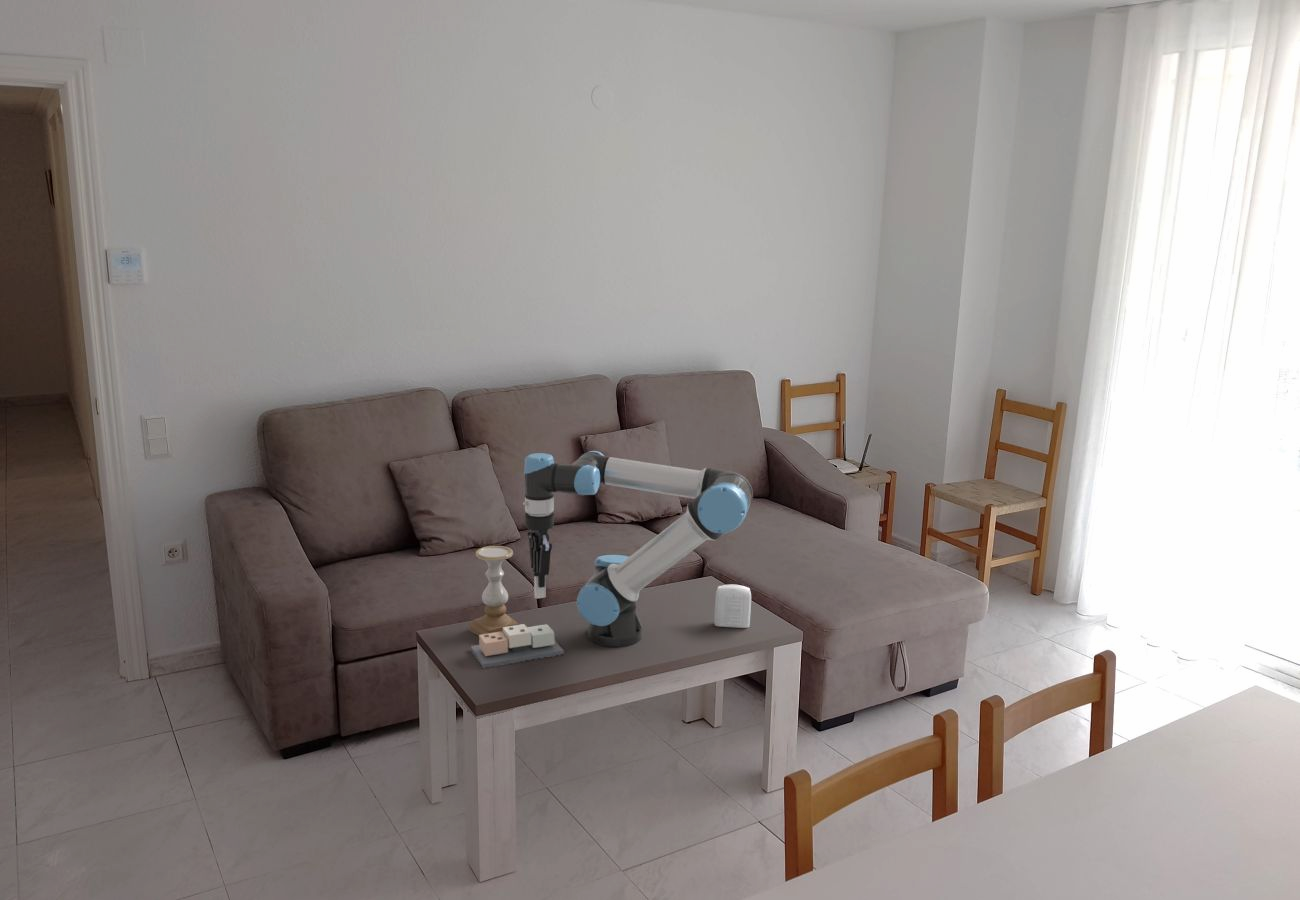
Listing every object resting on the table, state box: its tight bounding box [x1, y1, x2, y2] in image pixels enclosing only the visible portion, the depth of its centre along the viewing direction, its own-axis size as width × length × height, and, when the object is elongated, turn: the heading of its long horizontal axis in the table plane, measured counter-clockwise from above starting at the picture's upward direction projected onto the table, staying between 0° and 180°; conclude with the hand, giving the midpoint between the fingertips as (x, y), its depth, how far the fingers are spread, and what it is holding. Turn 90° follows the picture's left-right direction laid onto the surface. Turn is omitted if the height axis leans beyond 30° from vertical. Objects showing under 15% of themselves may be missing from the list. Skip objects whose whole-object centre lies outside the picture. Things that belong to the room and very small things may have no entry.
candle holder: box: [469, 545, 519, 637], centre depth 283 cm, size 11×11×24 cm
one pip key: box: [526, 623, 555, 648], centre depth 275 cm, size 6×6×4 cm
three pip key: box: [478, 632, 508, 656], centre depth 270 cm, size 6×6×4 cm
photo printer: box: [713, 583, 752, 629], centre depth 293 cm, size 10×4×12 cm, turn 86°
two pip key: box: [503, 623, 531, 648], centre depth 272 cm, size 6×6×4 cm
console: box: [470, 639, 565, 669], centre depth 273 cm, size 22×12×4 cm, turn 115°
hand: (540, 596), depth 273 cm, fingers closed
